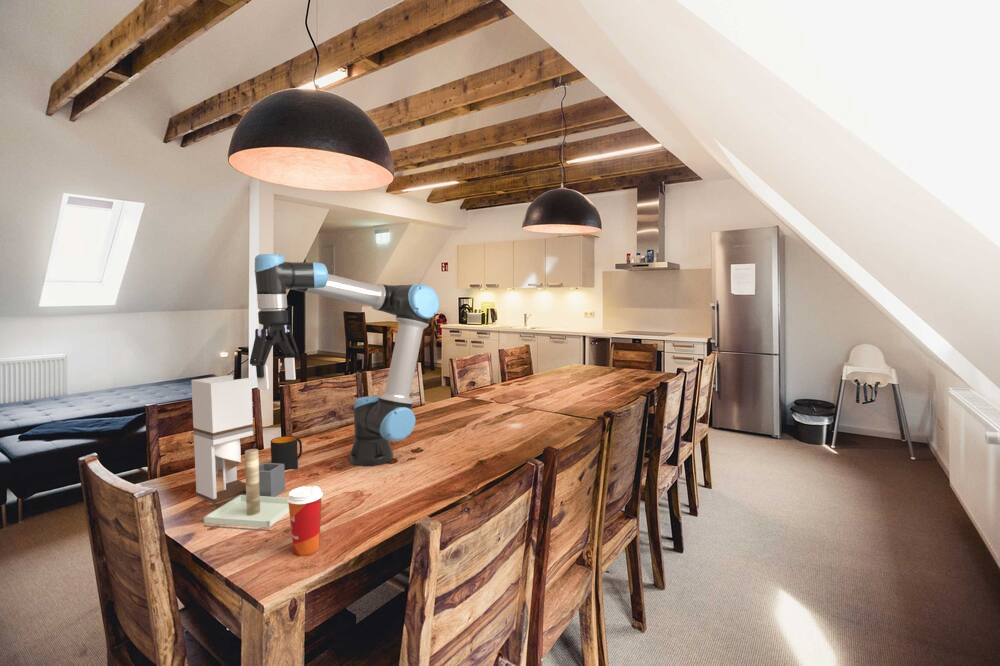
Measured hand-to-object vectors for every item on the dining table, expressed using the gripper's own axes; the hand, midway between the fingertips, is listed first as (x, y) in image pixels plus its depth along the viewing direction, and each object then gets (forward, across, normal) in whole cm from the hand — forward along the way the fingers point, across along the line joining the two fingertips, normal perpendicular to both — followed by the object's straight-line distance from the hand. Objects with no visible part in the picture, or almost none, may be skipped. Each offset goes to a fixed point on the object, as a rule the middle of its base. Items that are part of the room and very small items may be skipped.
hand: (277, 384), depth 135 cm
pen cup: (+34, 0, -6) cm, 34 cm away
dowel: (+33, +12, -2) cm, 35 cm away
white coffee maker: (+34, 0, -18) cm, 38 cm away
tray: (+34, +12, -2) cm, 36 cm away
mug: (+34, -24, -13) cm, 44 cm away
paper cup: (+34, +26, +21) cm, 48 cm away
